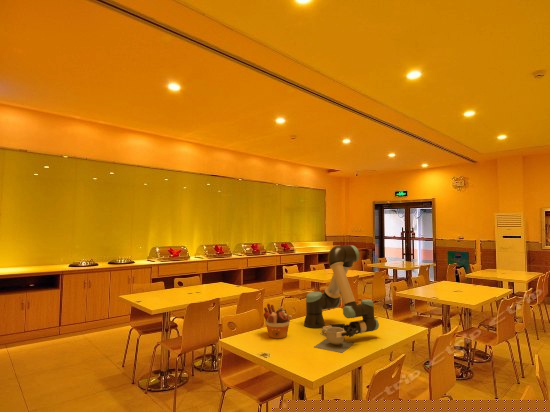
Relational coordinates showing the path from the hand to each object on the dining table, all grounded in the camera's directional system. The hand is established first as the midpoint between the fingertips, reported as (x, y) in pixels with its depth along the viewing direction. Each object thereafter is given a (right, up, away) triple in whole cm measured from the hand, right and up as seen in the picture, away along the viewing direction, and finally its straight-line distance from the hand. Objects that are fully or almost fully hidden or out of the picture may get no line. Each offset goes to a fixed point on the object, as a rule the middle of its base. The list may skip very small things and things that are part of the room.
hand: (329, 332), depth 203 cm
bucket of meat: (-31, -10, +19) cm, 38 cm away
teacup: (+2, -7, +1) cm, 7 cm away
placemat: (+3, -8, +1) cm, 9 cm away
